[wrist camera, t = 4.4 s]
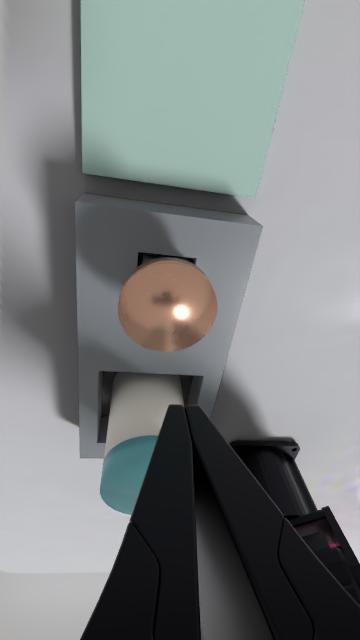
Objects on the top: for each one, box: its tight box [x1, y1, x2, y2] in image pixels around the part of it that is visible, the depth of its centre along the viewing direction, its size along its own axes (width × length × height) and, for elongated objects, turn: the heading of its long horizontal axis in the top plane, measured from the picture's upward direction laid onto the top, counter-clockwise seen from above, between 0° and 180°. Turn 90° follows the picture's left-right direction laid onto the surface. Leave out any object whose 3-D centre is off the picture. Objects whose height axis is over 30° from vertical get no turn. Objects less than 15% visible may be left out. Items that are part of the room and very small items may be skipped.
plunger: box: [118, 252, 218, 352], centre depth 16 cm, size 4×4×6 cm
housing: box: [75, 193, 263, 458], centre depth 20 cm, size 9×18×2 cm, turn 172°
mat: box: [81, 0, 305, 198], centre depth 14 cm, size 9×8×1 cm
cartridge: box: [100, 372, 184, 515], centre depth 20 cm, size 5×5×8 cm
